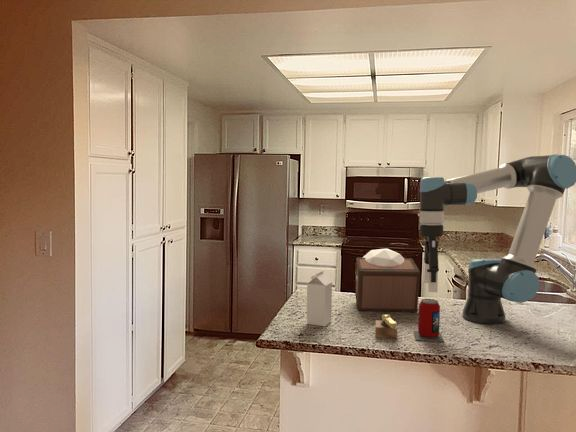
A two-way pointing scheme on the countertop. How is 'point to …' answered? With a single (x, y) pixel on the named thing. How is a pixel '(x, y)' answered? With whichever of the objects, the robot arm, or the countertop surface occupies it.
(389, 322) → the lever
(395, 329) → the pedestal
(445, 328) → the countertop surface
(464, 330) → the countertop surface
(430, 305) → the beverage can
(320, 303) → the milk carton
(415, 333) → the mat
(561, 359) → the countertop surface
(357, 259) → the tissue box
